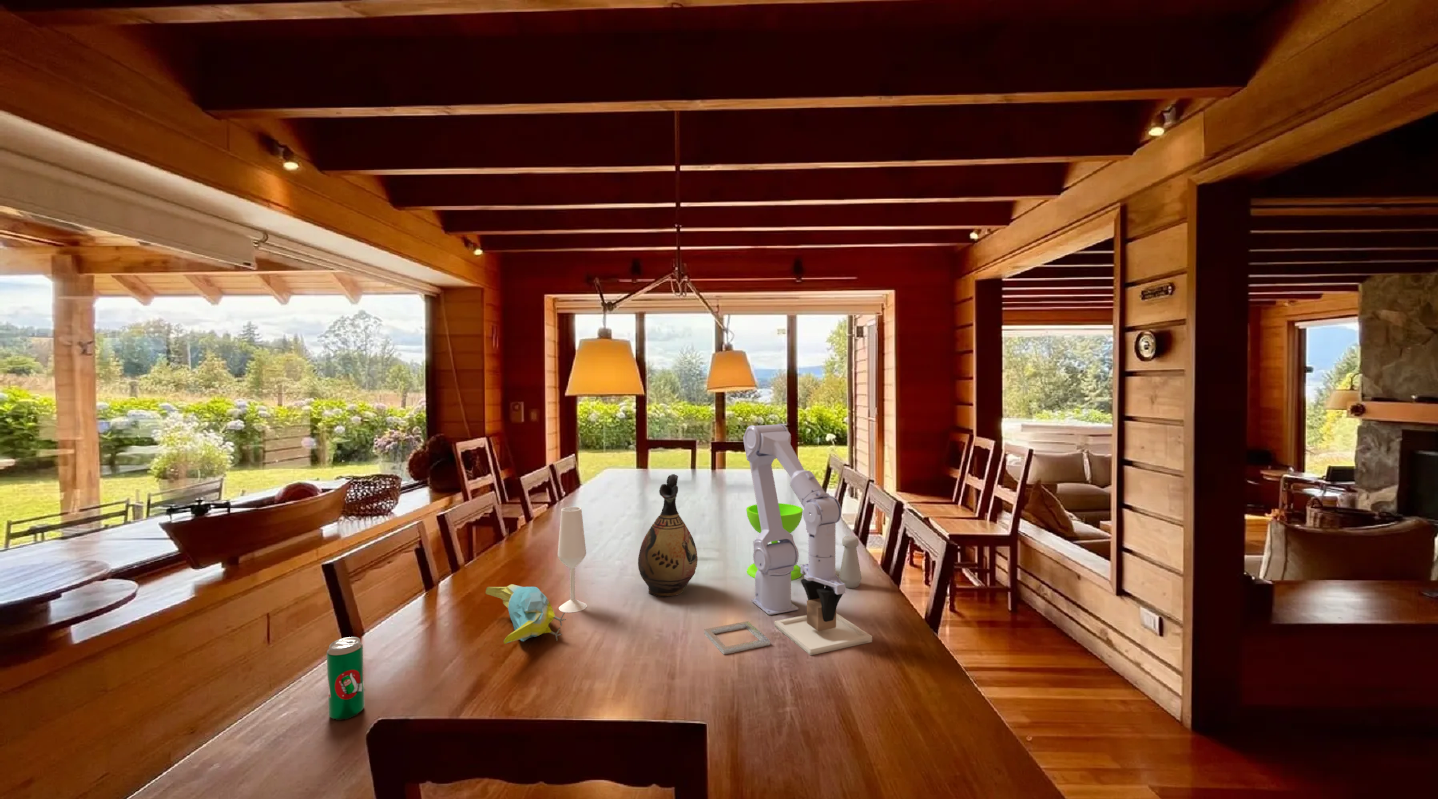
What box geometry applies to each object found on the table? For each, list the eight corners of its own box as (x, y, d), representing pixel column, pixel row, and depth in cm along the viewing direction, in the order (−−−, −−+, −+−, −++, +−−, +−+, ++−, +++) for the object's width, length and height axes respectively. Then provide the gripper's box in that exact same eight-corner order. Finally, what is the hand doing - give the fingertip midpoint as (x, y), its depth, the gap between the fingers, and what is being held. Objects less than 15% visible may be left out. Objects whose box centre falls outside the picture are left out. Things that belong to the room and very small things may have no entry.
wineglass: (740, 578, 163) (739, 513, 162) (753, 560, 178) (753, 501, 178) (798, 584, 159) (797, 517, 158) (806, 565, 174) (806, 504, 173)
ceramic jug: (696, 601, 146) (695, 481, 145) (633, 601, 147) (632, 481, 146) (699, 578, 163) (698, 470, 162) (644, 578, 164) (642, 470, 163)
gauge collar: (704, 633, 128) (704, 629, 128) (748, 625, 132) (748, 621, 132) (723, 654, 119) (723, 649, 118) (770, 645, 123) (770, 640, 123)
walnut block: (806, 623, 129) (806, 600, 129) (824, 619, 131) (824, 597, 130) (818, 631, 125) (818, 607, 124) (836, 627, 126) (836, 604, 126)
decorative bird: (547, 606, 144) (546, 568, 144) (577, 657, 118) (576, 611, 117) (486, 617, 138) (485, 578, 138) (504, 674, 111) (503, 625, 111)
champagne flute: (575, 599, 148) (574, 504, 147) (592, 606, 144) (591, 508, 143) (552, 607, 143) (551, 509, 142) (569, 614, 139) (568, 513, 138)
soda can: (339, 705, 101) (337, 636, 101) (370, 704, 101) (368, 635, 101) (322, 722, 96) (319, 650, 96) (354, 721, 96) (352, 648, 96)
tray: (774, 626, 132) (774, 621, 132) (831, 615, 138) (831, 610, 138) (810, 655, 118) (810, 649, 118) (872, 641, 124) (872, 636, 124)
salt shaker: (861, 590, 154) (861, 540, 153) (839, 588, 155) (839, 539, 154) (861, 582, 159) (861, 534, 159) (839, 581, 160) (839, 533, 160)
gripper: (788, 547, 132) (788, 606, 133) (824, 566, 119) (824, 632, 119) (815, 543, 135) (815, 602, 135) (853, 561, 122) (853, 626, 122)
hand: (821, 616), depth 128 cm, fingers closed on walnut block, 4 cm apart
